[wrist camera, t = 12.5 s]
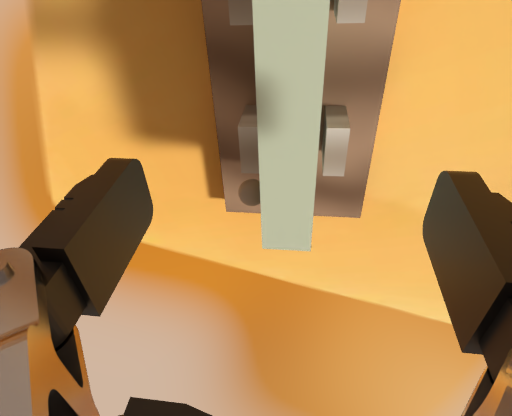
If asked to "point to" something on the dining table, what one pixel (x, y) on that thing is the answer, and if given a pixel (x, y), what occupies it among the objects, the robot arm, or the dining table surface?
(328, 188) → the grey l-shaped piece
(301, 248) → the door
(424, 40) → the dining table surface
